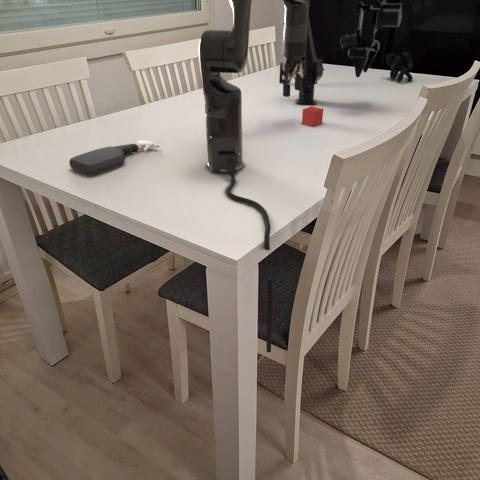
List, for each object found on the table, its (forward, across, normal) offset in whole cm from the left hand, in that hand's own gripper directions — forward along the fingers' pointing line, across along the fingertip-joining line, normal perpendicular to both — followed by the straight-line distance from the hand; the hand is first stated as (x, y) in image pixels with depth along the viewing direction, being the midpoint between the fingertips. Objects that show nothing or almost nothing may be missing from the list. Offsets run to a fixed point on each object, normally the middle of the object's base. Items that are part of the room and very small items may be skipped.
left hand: (292, 93), depth 145 cm
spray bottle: (+9, +53, -28) cm, 61 cm away
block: (+10, -3, +6) cm, 12 cm away
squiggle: (+12, -80, +15) cm, 82 cm away
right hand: (-1, -27, +14) cm, 31 cm away
